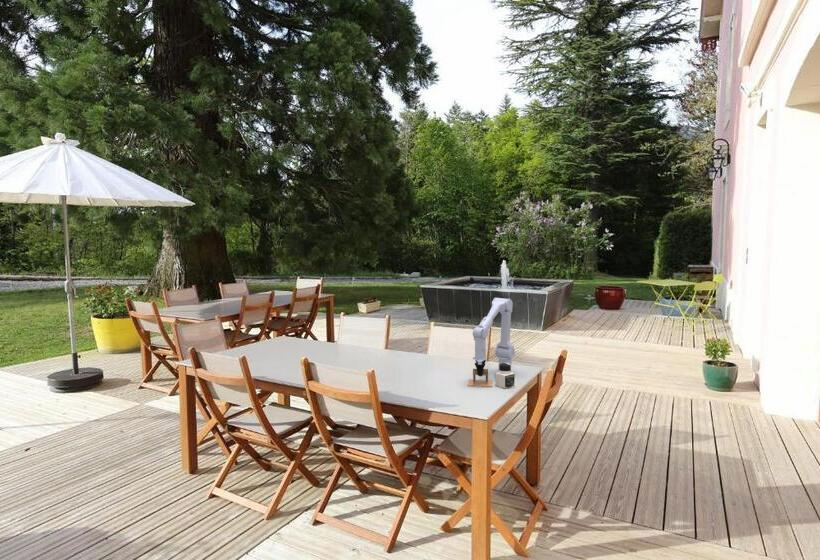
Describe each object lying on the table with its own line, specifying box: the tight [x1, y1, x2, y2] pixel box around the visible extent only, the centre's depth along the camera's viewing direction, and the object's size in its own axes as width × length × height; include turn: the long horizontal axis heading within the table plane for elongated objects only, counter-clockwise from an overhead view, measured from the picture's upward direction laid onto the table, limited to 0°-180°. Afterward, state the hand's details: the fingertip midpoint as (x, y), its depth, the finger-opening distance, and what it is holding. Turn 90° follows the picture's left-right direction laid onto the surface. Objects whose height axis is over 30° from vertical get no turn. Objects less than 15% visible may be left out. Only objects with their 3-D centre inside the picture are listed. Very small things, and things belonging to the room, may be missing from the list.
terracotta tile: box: [467, 379, 494, 388], centre depth 282 cm, size 11×13×1 cm
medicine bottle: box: [495, 363, 515, 390], centre depth 277 cm, size 7×7×12 cm
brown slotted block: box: [472, 368, 489, 383], centre depth 282 cm, size 5×8×6 cm, turn 82°
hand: (480, 374), depth 282 cm, fingers closed on brown slotted block, 5 cm apart
